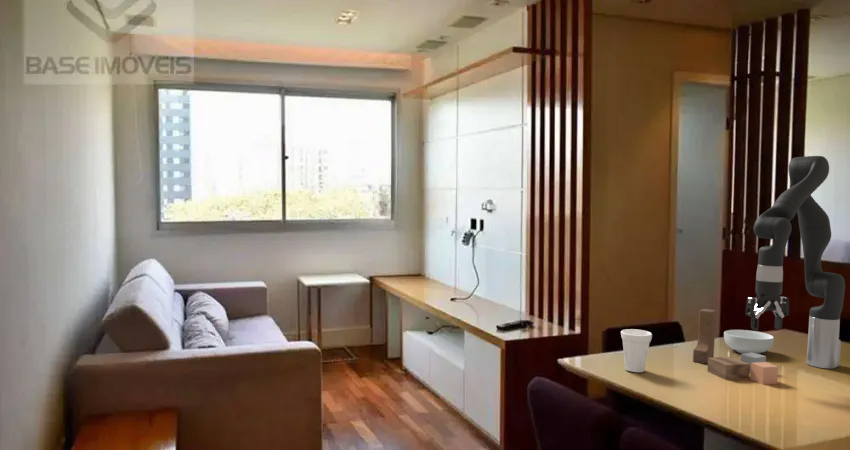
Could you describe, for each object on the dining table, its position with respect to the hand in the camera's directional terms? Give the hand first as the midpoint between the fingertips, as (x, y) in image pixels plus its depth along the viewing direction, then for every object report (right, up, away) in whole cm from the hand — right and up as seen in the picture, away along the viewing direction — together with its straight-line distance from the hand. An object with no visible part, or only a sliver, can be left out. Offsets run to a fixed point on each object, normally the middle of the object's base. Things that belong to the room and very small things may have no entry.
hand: (766, 329), depth 209 cm
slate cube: (+2, -16, +13) cm, 21 cm away
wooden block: (-10, -15, +25) cm, 31 cm away
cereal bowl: (+13, -15, +38) cm, 43 cm away
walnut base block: (-9, -17, +7) cm, 20 cm away
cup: (-39, -16, +10) cm, 43 cm away
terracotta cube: (0, -17, +1) cm, 17 cm away
